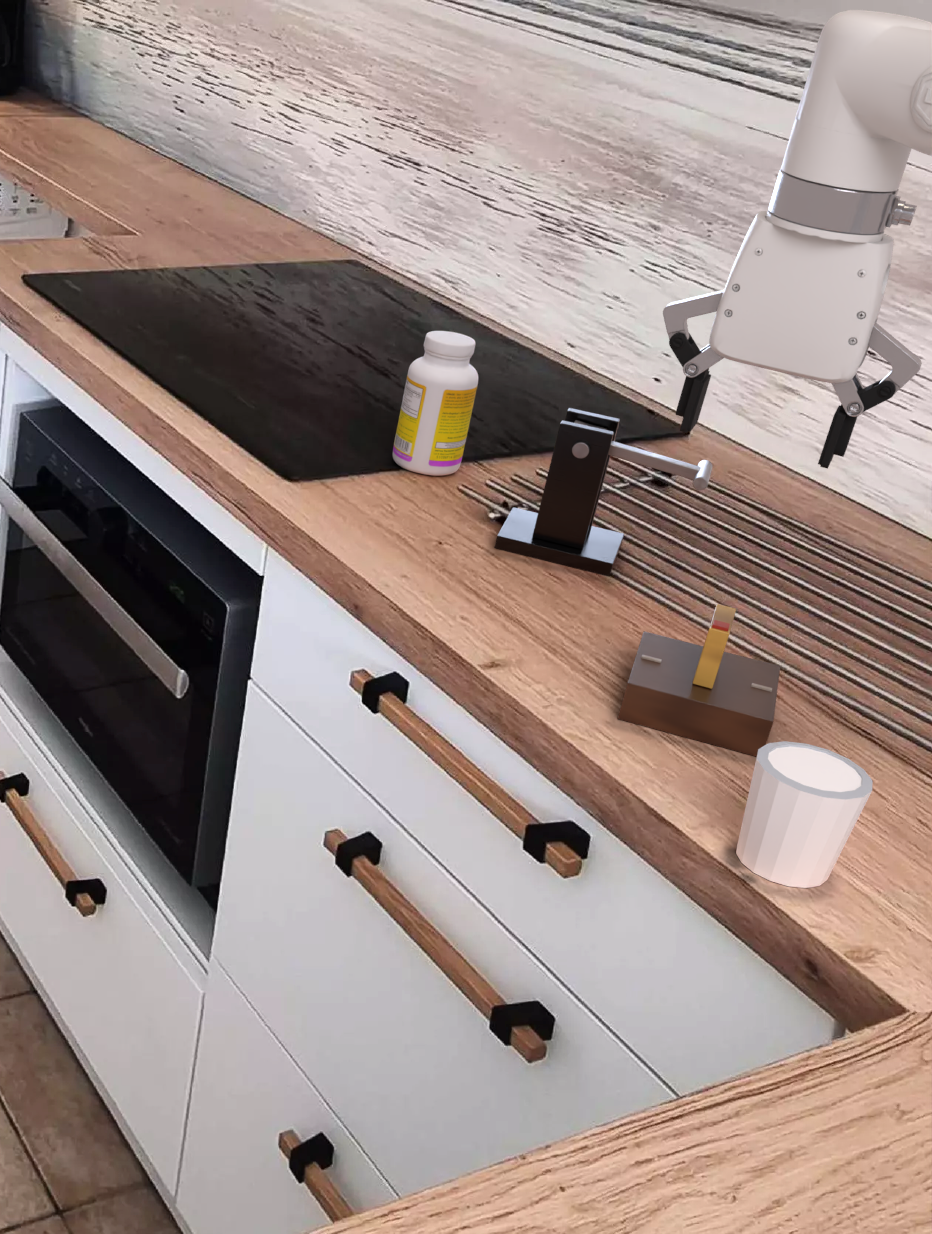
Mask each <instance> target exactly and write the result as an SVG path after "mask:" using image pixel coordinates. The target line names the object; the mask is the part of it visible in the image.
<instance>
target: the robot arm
mask: <svg viewBox="0 0 932 1234" xmlns="http://www.w3.org/2000/svg"><path fill="white" fill-rule="evenodd" d="M912 150H914V151H916V152H919V153H921V154H924V155H927V156H929V157H930V156H931V157H932V22H931V21H928V20H925V19H922V18H918V17H915V16H909V15H906V14H905V15H904V14H898V13H893V12H885V11H877V10H868V9H867V10H866V9H847V10H843V11H839V12H837V13H834V14H833V15H832V16H831V17H830V18H828V20H827V21H826V23H825V24H824V25H823V27H822V30H821V32H820V35H819V38H818V40H817V43H816V47H815V50H814V53H813V57H812V60H811V64H810V68H809V70H808V74H807V78H806V81H805V84H804V87H803V91H802V94H801V97H800V101H799V104H798V108H797V111H796V114H795V117H794V121H793V125H792V128H791V131H790V135H789V139H788V142H787V145H786V149H785V153H784V157H783V159H782V163H781V166H780V169H779V172H778V175H777V179H776V181H775V185H774V189H773V192H772V196H771V197H770V198H771V199H770V202H769V204H768V209H767V210H760V211H758V212H757V213H756V215H755V217H754V218H753V220H752V222H751V224H750V226H749V228H748V230H747V232H746V234H745V236H744V239H743V241H742V243H741V245H740V248H739V250H738V253H737V255H736V257H735V259H734V262H733V265H732V267H731V270H730V273H729V276H728V278H727V281H726V284H725V287H724V289H722V290H717V291H713V292H709V293H704V294H701V295H697V296H692V297H689V298H684V299H681V300H676V301H672V302H670V303H668V304H667V305H666V306H665V307H664V308H663V310H662V316H663V320H664V325H665V329H666V333H667V335H668V346H669V347H670V349H671V351H672V352H673V354H674V355H675V357H676V359H677V361H678V362H679V364H680V365H681V367H682V372H683V375H685V379H684V382H683V385H682V389H681V392H680V396H679V398H678V399H679V400H678V403H677V407H676V411H675V416H678V417H681V418H682V421H681V424H680V427H679V432H683V433H686V434H687V433H688V432H689V433H690V432H692V430H693V429H694V428H695V426H696V425H697V424H698V421H699V419H700V415H701V411H702V408H703V404H704V401H705V398H706V395H707V391H708V388H709V384H710V381H711V378H712V374H710V371H711V370H710V368H711V367H713V366H714V365H716V364H717V363H719V362H720V361H721V360H723V359H726V360H729V361H733V362H736V363H740V364H744V365H748V366H752V367H756V368H761V369H763V370H764V369H765V370H769V371H774V372H777V373H780V374H781V373H782V374H786V375H791V376H794V377H798V378H802V379H803V378H804V379H808V380H813V381H817V382H822V383H827V384H828V383H829V384H831V385H832V388H833V389H834V391H835V393H836V395H837V398H838V400H839V402H840V405H838V406H837V408H836V410H835V412H834V414H833V416H832V420H831V423H830V426H829V429H828V431H827V435H826V438H825V440H824V444H823V447H822V449H821V453H820V456H819V459H818V462H817V465H819V466H820V468H824V469H826V470H827V469H829V466H830V464H831V463H832V461H833V458H834V456H838V457H842V458H844V457H845V455H846V452H847V450H848V449H847V448H848V446H849V443H850V440H851V437H852V434H853V432H854V428H855V426H856V423H857V420H858V417H859V416H861V415H862V414H863V413H864V412H866V411H869V410H871V409H873V408H874V407H876V406H878V405H880V404H882V403H884V402H886V401H889V400H891V398H893V397H894V395H895V394H896V393H897V392H899V391H900V389H902V388H903V387H904V386H905V385H906V384H907V383H908V382H910V381H911V379H913V377H915V376H916V375H917V374H918V373H919V371H920V370H921V367H922V360H921V359H920V357H918V356H917V355H916V354H915V353H913V352H912V351H911V350H910V349H909V348H907V346H905V345H904V344H903V343H901V342H900V340H898V339H897V338H896V337H894V336H893V335H892V334H891V333H889V331H887V330H886V329H885V328H884V327H883V326H881V325H880V324H879V323H878V317H879V315H880V312H881V308H882V303H883V301H884V297H885V293H886V289H887V285H888V281H889V278H890V277H889V276H890V272H891V266H892V260H893V252H894V242H895V238H894V237H892V236H891V235H889V234H886V233H885V230H886V229H887V228H891V226H892V225H894V226H899V224H900V225H906V226H911V225H912V222H913V219H914V216H915V214H916V210H917V207H918V205H915V204H910V203H906V202H907V201H906V200H902V199H901V198H902V197H901V196H900V195H898V192H899V188H900V185H901V182H902V179H903V175H904V173H905V170H906V167H907V164H908V161H909V157H910V154H911V151H912ZM715 312H716V313H715ZM712 313H715V316H714V318H713V322H712V325H711V329H710V334H709V340H708V344H707V345H706V346H704V347H702V348H701V349H700V348H699V346H698V345H697V343H696V341H695V340H694V337H692V334H691V333H690V331H689V328H688V327H689V325H688V319H691V318H694V317H699V316H703V315H707V314H708V315H709V314H712ZM869 348H870V349H871V350H873V351H874V352H875V353H876V354H878V355H879V356H881V358H882V359H884V360H885V361H886V362H887V363H888V364H890V366H891V368H892V369H890V371H889V372H888V373H887V374H886V375H885V376H884V377H883V378H881V379H879V380H877V381H875V382H873V383H871V384H869V385H868V386H865V387H864V385H863V383H862V381H861V379H860V377H859V375H858V371H859V369H860V368H861V367H862V365H863V363H864V361H865V359H866V357H867V354H868V352H869Z"/></svg>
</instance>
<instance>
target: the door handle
mask: <svg viewBox="0 0 932 1234" xmlns="http://www.w3.org/2000/svg"><path fill="white" fill-rule="evenodd" d="M574 423H577V424H581V425H586V426H590V427H595V428H599V429H604V430H607V429H605V428H601V427H598V426H595V425H591V424H588V423H584V422H581V421H577V420H575V422H574ZM608 455H610V457H614V458H617V459H620V460H623V461H628V462H629V463H634V464H638V465H641V466H644V467H648V468H650V469H655V470H658V471H661V472H665V473H667V474H671V475H674V476H678V477H682V478H685V479H688V480H692V487H693V489H695V490H696V491H704V490H705V489H707V488H708V486H709V482H710V479H711V476H712V472H713V467H714V465H713V463H712V462H711V461H710V460H709V459H702V460H701V461H699V462H698V464H697V465H696V464H693V463H689V462H687V461H683V460H679V459H675V458H672V457H668V456H666V455H662V454H658V453H655V452H651V451H649V450H645V449H641V448H639V447H636V446H635V447H634V446H631V445H627V444H624V443H621V442H618V441H612V442H611V446H610V450H609V454H608Z"/></svg>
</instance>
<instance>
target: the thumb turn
mask: <svg viewBox="0 0 932 1234" xmlns="http://www.w3.org/2000/svg"><path fill="white" fill-rule="evenodd" d="M736 611H737V608H735V607H731V606H727V605H723V604H720V603H717V604H715V607H714V610H713V614H712V616H711V617H712V618H711V621H710V624H709V628H708V629H707V630H708V631H707V633H706V636H705V641H704V643H703V645H702V646H703V650H702V653H701V656H700V659H699V663H698V666H697V669H696V673H695V676H694V679H693V684H696V685H699V686H703V687H707V688H710V689H712V688H713V685H714V682H715V679H716V675H717V672H718V669H719V666H720V663H721V659H722V656H723V653H724V652H725V649H726V647H727V643H728V640H729V638H730V637H729V636H730V634H731V630H732V627H733V623H734V619H735V615H736Z"/></svg>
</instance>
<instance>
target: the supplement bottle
mask: <svg viewBox="0 0 932 1234" xmlns="http://www.w3.org/2000/svg"><path fill="white" fill-rule="evenodd" d="M423 349H424V354H423V356H420V357H418V358H416V359H415V360H413V361H412V362H411V363H410V365H409V367H408V371H407V375H406V380H405V386H404V391H403V396H402V402H401V406H400V411H399V416H398V422H397V426H396V431H395V437H394V442H393V447H392V459H393V462H395V463H396V465H397V466H399V467H401V468H402V469H404V470H407V471H409V472H413V473H417V474H421V475H425V476H433V477H435V476H437V477H439V476H440V477H441V476H448V475H452V474H454V473H456V472H457V471H458V470H459V469H460V467H461V464H462V460H463V456H464V450H465V447H466V443H467V437H468V432H469V429H470V423H471V418H472V415H473V414H472V413H473V409H474V404H475V399H476V395H477V390H478V384H479V374H478V370H476V368H475V367H474V366H473V365H472V364H471V363H470V360H471V358H472V356H473V355H474V353H475V349H476V340H475V339H474V338H472V337H471V336H468V335H466V334H463V333H460V332H456V331H455V332H454V331H448V330H432V331H428V332H427V333H426V334H425V338H424V341H423Z"/></svg>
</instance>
